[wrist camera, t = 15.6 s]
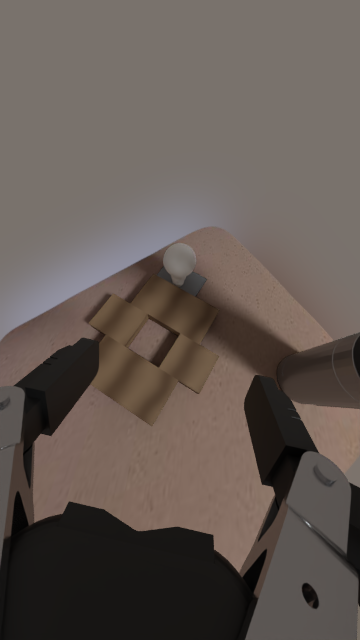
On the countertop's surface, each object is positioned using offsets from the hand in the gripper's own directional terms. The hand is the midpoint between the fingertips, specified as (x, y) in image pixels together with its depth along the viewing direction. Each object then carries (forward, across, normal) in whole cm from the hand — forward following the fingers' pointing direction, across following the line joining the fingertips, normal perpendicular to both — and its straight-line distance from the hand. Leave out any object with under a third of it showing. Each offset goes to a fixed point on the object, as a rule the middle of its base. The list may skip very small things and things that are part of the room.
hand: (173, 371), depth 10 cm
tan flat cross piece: (+26, +5, +15) cm, 30 cm away
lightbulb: (+35, +3, +4) cm, 36 cm away
